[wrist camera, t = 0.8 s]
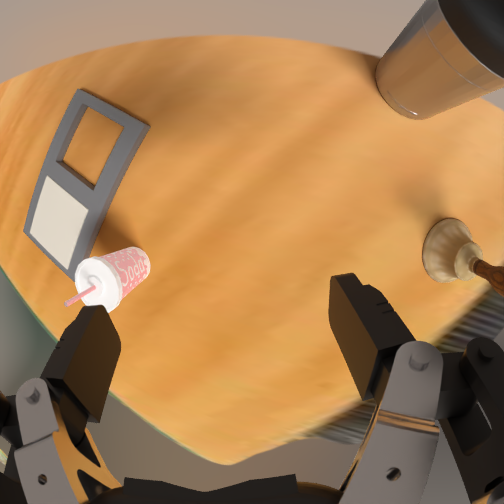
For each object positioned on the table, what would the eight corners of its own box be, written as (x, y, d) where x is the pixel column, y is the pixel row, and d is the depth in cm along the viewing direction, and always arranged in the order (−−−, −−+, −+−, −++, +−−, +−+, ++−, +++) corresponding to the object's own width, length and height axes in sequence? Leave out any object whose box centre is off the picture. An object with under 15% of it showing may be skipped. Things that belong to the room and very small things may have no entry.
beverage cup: (157, 287, 35) (97, 339, 22) (119, 284, 36) (52, 328, 23) (153, 241, 34) (83, 274, 20) (113, 240, 35) (39, 269, 21)
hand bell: (428, 292, 31) (496, 355, 16) (415, 231, 30) (497, 268, 14) (475, 268, 30) (551, 314, 14) (465, 209, 28) (553, 231, 13)
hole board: (83, 90, 30) (76, 88, 29) (150, 126, 31) (144, 124, 29) (29, 229, 37) (22, 231, 35) (81, 279, 37) (74, 283, 35)
